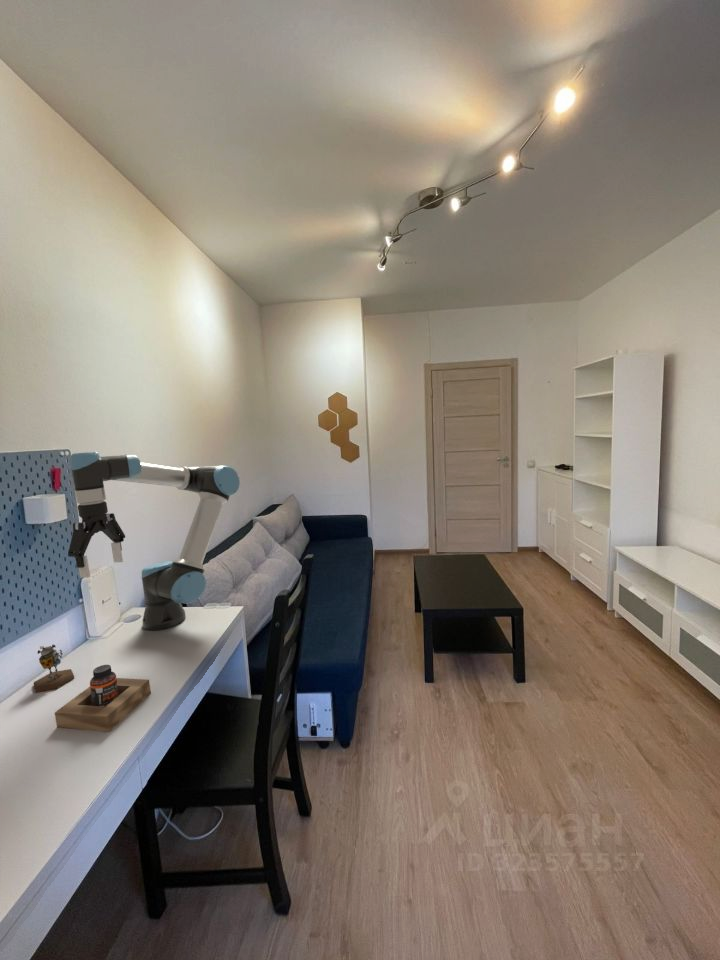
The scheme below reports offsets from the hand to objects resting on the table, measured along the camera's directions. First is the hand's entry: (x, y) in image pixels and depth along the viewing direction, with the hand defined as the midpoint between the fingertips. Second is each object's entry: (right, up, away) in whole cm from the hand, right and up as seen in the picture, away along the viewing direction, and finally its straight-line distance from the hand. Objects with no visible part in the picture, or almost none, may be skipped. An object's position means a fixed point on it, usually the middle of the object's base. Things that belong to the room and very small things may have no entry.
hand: (102, 569), depth 129 cm
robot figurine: (-11, -33, -5) cm, 35 cm away
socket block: (+14, -33, -20) cm, 41 cm away
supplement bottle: (+14, -33, -20) cm, 41 cm away
